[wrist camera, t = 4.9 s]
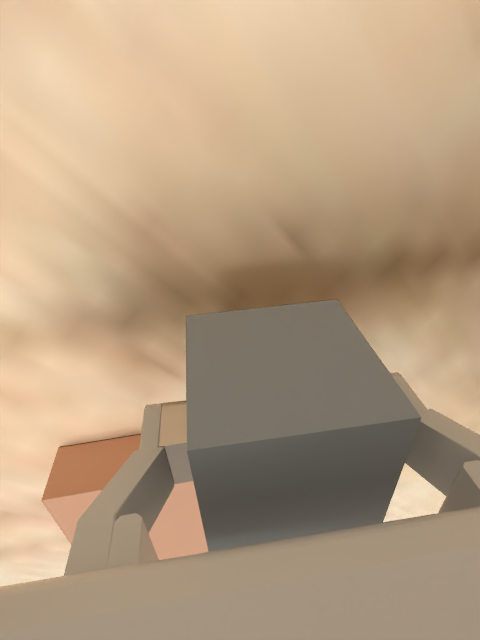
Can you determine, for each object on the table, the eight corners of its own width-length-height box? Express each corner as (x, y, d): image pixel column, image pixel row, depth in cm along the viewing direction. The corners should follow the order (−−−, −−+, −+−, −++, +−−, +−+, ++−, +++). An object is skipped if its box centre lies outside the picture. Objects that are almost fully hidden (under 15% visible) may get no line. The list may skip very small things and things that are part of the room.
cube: (337, 299, 12) (421, 417, 7) (323, 403, 14) (379, 530, 10) (186, 315, 11) (186, 450, 7) (202, 419, 14) (210, 559, 10)
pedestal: (237, 418, 20) (246, 464, 18) (245, 509, 26) (253, 554, 23) (58, 447, 19) (41, 500, 17) (106, 536, 25) (99, 585, 22)
